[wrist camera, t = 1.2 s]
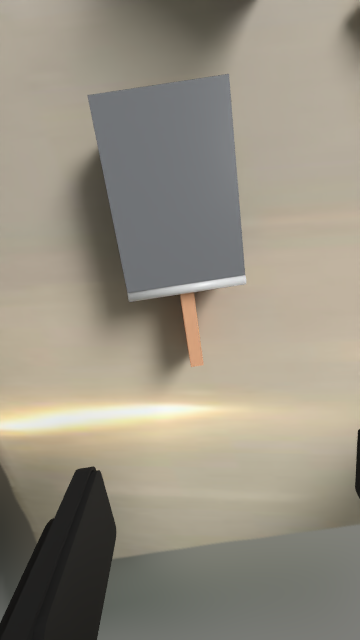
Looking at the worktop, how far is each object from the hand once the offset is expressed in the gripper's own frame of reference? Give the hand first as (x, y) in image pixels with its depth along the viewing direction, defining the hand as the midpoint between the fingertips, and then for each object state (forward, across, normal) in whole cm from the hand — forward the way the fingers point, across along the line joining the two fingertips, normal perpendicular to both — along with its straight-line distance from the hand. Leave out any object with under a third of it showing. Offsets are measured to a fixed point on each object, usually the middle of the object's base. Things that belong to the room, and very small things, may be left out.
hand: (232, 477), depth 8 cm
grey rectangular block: (+19, 0, -13) cm, 23 cm away
